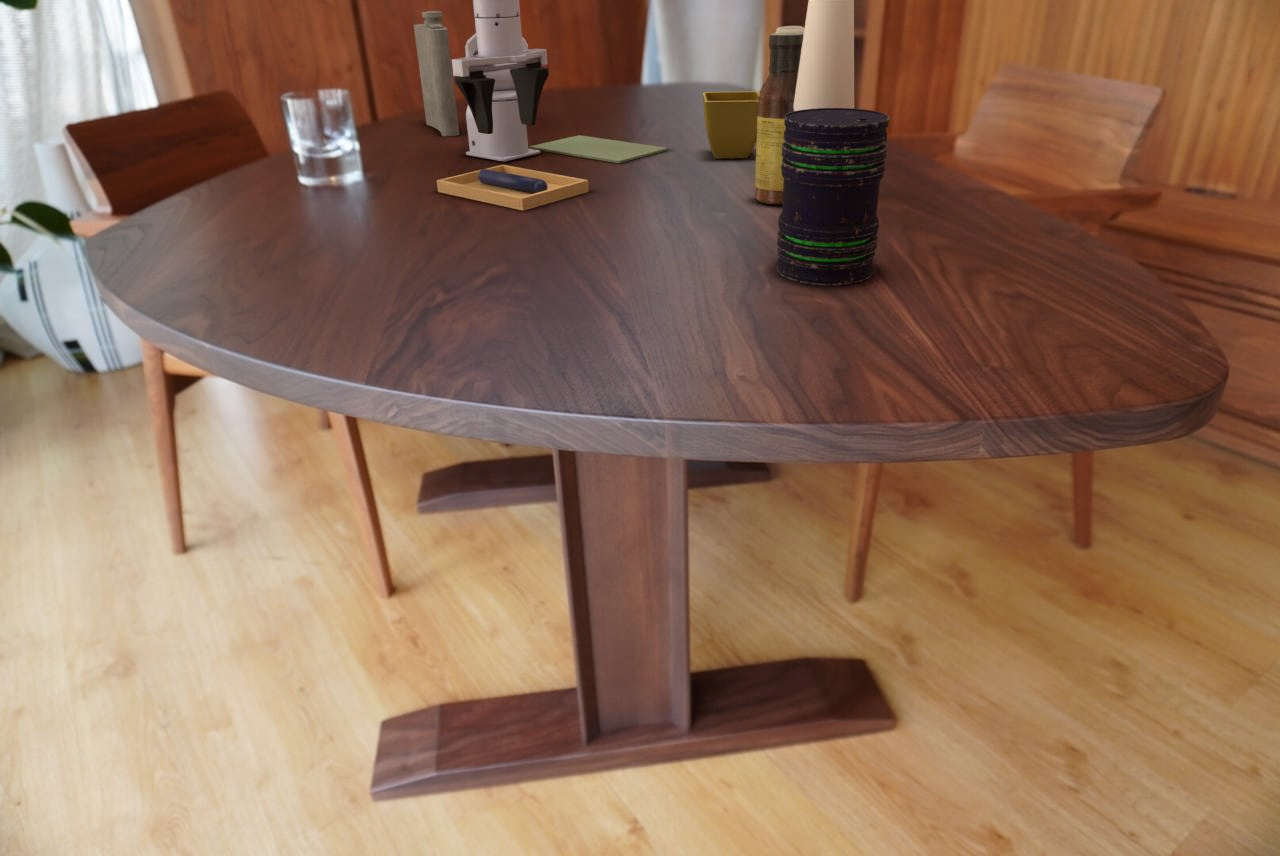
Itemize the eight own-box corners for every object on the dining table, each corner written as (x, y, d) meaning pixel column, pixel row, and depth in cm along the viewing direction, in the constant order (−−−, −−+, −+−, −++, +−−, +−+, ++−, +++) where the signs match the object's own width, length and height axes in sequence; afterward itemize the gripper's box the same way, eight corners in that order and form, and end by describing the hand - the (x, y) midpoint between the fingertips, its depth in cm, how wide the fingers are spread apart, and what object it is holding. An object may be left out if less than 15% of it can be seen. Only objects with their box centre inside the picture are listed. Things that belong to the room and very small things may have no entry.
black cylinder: (755, 270, 92) (761, 117, 85) (813, 249, 98) (823, 104, 91) (837, 293, 86) (851, 129, 79) (893, 268, 92) (911, 114, 85)
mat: (529, 148, 150) (528, 146, 150) (579, 137, 158) (579, 135, 158) (619, 163, 139) (619, 160, 139) (668, 150, 147) (668, 147, 147)
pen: (475, 184, 127) (474, 169, 126) (486, 181, 128) (485, 166, 128) (540, 197, 120) (539, 182, 119) (551, 194, 121) (550, 179, 120)
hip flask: (425, 123, 174) (410, 9, 165) (445, 121, 176) (432, 8, 166) (443, 137, 162) (428, 14, 152) (466, 134, 163) (452, 12, 154)
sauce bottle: (801, 207, 114) (812, 35, 104) (751, 206, 115) (758, 36, 105) (804, 194, 119) (814, 30, 110) (756, 193, 120) (762, 31, 111)
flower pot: (761, 161, 138) (764, 99, 134) (704, 162, 138) (704, 100, 134) (756, 150, 146) (758, 90, 141) (701, 150, 146) (702, 91, 142)
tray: (437, 192, 125) (436, 180, 124) (503, 175, 133) (502, 164, 133) (523, 210, 115) (522, 198, 114) (588, 191, 123) (588, 180, 123)
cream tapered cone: (776, 217, 110) (787, -2, 98) (825, 211, 112) (841, -4, 100) (804, 232, 104) (819, 1, 93) (855, 225, 106) (876, -1, 95)
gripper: (473, 21, 107) (485, 140, 113) (560, 13, 116) (567, 123, 123) (436, 20, 111) (449, 134, 117) (523, 12, 120) (531, 118, 127)
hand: (507, 128), depth 120 cm, fingers open, 7 cm apart
